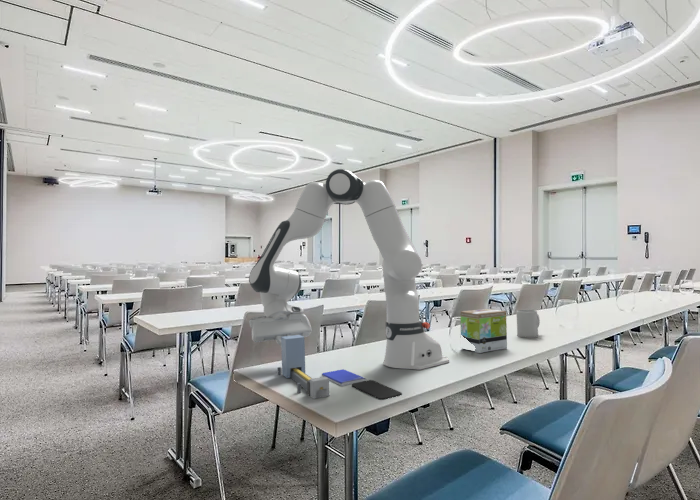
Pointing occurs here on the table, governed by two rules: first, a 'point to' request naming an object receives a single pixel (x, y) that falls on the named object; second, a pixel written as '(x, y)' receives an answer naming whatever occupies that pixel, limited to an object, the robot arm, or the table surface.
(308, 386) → the cord rail
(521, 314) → the mug
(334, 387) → the table surface
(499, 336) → the tea box
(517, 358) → the table surface
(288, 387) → the table surface
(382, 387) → the phone
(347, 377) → the hard drive
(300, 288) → the robot arm
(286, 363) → the pale blue block
